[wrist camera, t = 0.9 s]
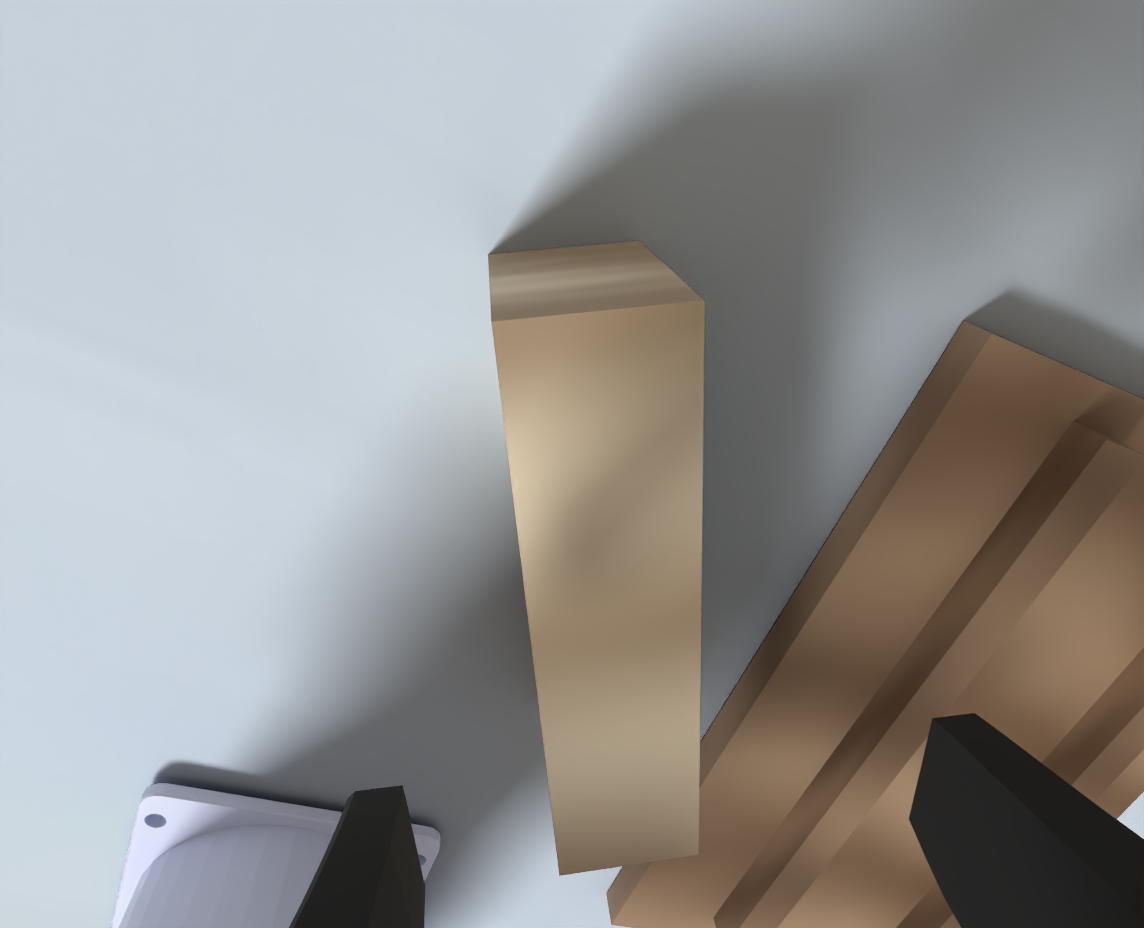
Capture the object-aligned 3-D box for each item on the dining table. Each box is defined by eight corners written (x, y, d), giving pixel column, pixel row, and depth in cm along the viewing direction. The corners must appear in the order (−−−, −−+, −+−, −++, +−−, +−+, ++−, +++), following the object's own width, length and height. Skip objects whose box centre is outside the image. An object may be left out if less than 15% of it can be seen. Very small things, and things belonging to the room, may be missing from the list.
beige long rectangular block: (657, 686, 20) (707, 853, 16) (541, 702, 20) (559, 875, 16) (647, 237, 15) (718, 299, 10) (487, 252, 15) (491, 321, 10)
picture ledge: (949, 945, 27) (982, 1004, 26) (606, 893, 24) (616, 958, 22) (1370, 497, 20) (1458, 537, 18) (964, 320, 16) (1023, 348, 14)
